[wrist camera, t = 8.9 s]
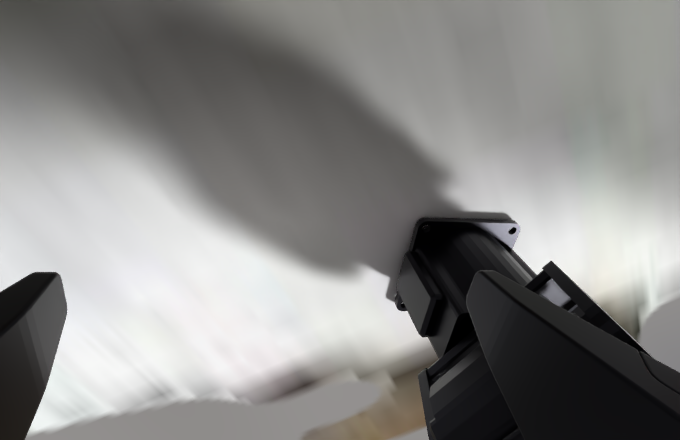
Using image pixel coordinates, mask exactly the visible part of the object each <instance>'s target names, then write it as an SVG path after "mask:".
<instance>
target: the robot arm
mask: <svg viewBox="0 0 680 440" xmlns="http://www.w3.org/2000/svg"><path fill="white" fill-rule="evenodd" d="M425 225H428V226H427V227H426V228H425V229H422V228H423V227H424V226H425ZM512 227H513V228H512ZM510 228H512V229H511V230H510V231H509V229H510ZM519 232H520V226H519V225H518V224H517V223H516V222H515V221H513V220H493V219H460V218H428V217H426V218H422V219H420V220H419V221H417V223H416V225H415V229H414V232H413V236H412V240H411V243H410V247H409V251H408V252H407V253H406V254H405V256H404V260H403V263H402V267H401V271H400V275H399V278H398V282H397V286H396V288H397V290H398V291H397V295H396V298H395V305H396V307H397V309H398V310H400V311H408V313H409V315H410V317H411V319H412V321H413V323H414V325H415V327H416V329H417V331H418V333H419V334H420V335H421V336H422V337H428V338H429V340H430V342H431V344H432V346H433V348H434V350H435V352H436V354H437V356H438V358H439V360H437V361H436V362H435V363H434V364H433V365H432V366H430V367H429V368H428V369H427V368H425V369H424V370H423V371H422V372H420V373H419V374H418V379H419V385H420V391H421V397H422V402H423V408H424V414H425V420H426V425H427V431H428V436H429V440H680V373H679V372H677V371H676V370H674V369H671V368H670V367H668V366H666V365H664V364H662V363H661V362H659V361H657V360H656V359H654V358H653V357H652V356H651V355H650V354H649V353H648V352H647V351H646V350H645V349H644V348H643V347H642V346H641V345H640V344H639V343H638V342H637V341H636V340H635V339H634V338H633V337H632V336H631V335H630V334H629V333H628V332H627V331H626V330H625V329H623V328H622V327H621V326H620V325H619V324H618V323H617V322H616V321H615V320H614V319H613V318H612V317H611V316H610V315H609V314H608V313H607V312H606V311H605V310H603V309H602V308H601V307H600V306H599V305H598V304H597V303H596V302H595V301H594V300H593V299H592V298H591V297H590V296H589V295H588V294H586V293H585V292H584V291H583V290H582V289H581V288H580V287H579V286H578V285H577V284H576V283H575V282H574V281H573V280H571V279H570V278H569V277H568V276H567V275H566V274H565V273H564V272H563V271H562V270H561V269H560V268H559V267H558V266H556V265H555V264H554V263H553V262H552V261H550V262H549V263H548V264H547V265H545V266H544V267H543V268H542V269H543V271H542V272H540V273H539V274H538V275H536V274H535V273H534V272H533V271H532V270H531V268H530V267H529V266H528V265H527V264H526V263H525V262H524V261H523V260H522V259H521V258H520V257H519V256H518V255H517V254H516V253H515V252H514V251H513V250H512V249H513V246H514V244H515V241H516V239H517V237H518V234H519ZM401 303H402V304H401ZM66 315H67V303H66V298H65V293H64V288H63V284H62V279H61V277H60V275H59V274H58V273H56V272H34V273H32V274H30V275H28V276H26V277H25V278H23V279H21V280H20V281H18V282H16V283H15V284H13V285H11V286H10V287H8V288H6V289H5V290H3V291H1V292H0V440H25V438H26V435H27V433H28V430H29V428H30V426H31V423H32V421H33V419H34V416H35V414H36V411H37V409H38V407H39V404H40V402H41V399H42V397H43V394H44V392H45V389H46V386H47V383H48V380H49V376H50V373H51V369H52V366H53V362H54V359H55V355H56V352H57V348H58V344H59V341H60V337H61V334H62V330H63V327H64V323H65V320H66Z"/></svg>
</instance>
